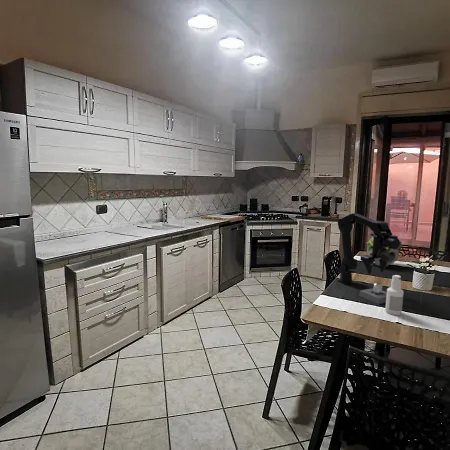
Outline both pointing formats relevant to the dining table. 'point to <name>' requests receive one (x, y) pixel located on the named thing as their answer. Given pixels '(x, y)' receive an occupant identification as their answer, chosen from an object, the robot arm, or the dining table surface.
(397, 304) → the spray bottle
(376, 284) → the peg
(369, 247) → the flower arrangement
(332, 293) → the dining table surface
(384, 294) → the socket
